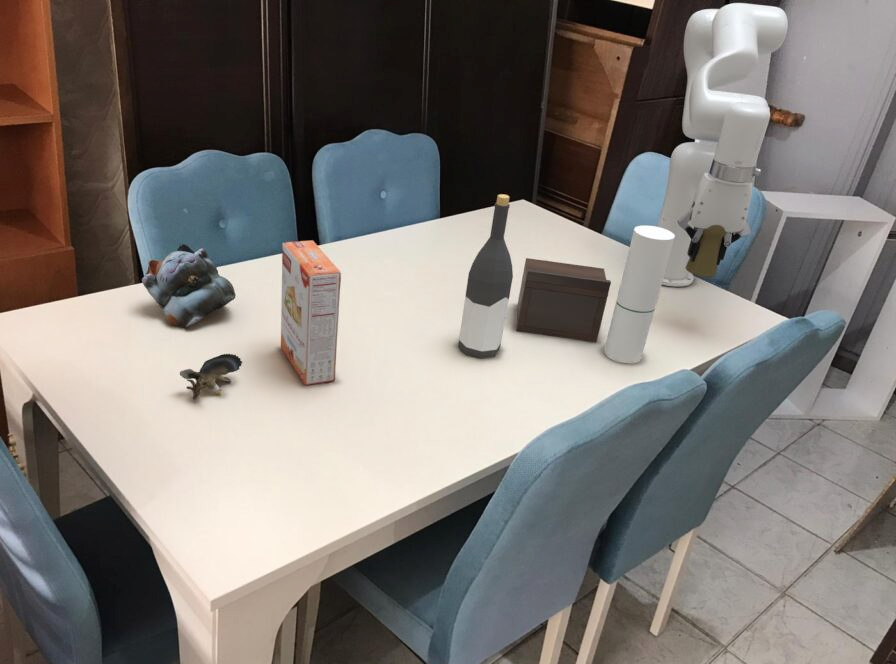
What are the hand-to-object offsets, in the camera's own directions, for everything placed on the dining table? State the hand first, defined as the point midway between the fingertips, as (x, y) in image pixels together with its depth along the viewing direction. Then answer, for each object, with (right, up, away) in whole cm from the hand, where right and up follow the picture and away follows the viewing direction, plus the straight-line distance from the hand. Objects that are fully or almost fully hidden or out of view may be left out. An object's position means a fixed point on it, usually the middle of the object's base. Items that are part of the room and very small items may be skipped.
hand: (704, 260), depth 168 cm
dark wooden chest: (-29, -12, +5) cm, 32 cm away
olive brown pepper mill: (0, -2, +1) cm, 2 cm away
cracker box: (-78, -22, -19) cm, 83 cm away
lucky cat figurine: (-102, -11, -5) cm, 102 cm away
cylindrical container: (-18, -19, -5) cm, 27 cm away
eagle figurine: (-93, -26, -29) cm, 101 cm away
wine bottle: (-46, -18, -8) cm, 50 cm away
